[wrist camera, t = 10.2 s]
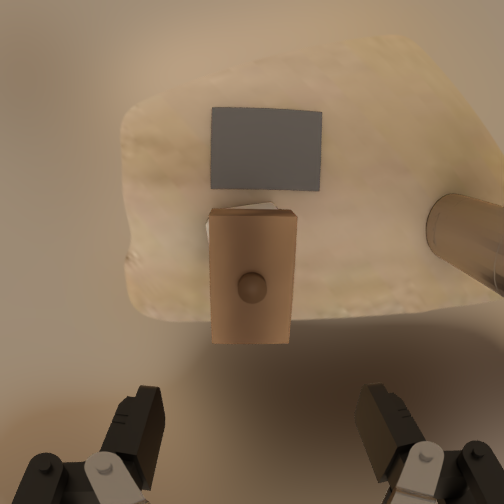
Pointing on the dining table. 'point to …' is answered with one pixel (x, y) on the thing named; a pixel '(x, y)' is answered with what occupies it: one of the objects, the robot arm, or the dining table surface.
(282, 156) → the mat
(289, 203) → the dining table surface
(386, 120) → the dining table surface
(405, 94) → the dining table surface
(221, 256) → the lid
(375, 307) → the dining table surface
